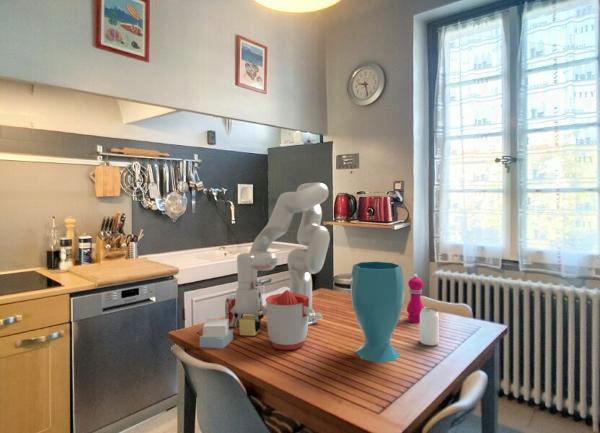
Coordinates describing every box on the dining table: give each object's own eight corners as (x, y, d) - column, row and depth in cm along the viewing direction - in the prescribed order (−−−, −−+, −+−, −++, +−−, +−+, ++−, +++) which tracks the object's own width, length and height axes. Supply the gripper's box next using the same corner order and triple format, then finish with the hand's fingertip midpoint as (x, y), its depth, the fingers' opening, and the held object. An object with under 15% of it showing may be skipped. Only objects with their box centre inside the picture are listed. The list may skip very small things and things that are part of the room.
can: (429, 347, 128) (429, 313, 128) (415, 341, 134) (415, 309, 133) (442, 343, 131) (442, 310, 131) (428, 338, 137) (428, 306, 136)
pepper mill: (406, 321, 155) (405, 275, 155) (407, 316, 162) (407, 272, 161) (423, 323, 153) (423, 276, 152) (424, 318, 159) (424, 273, 159)
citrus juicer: (305, 356, 122) (304, 297, 121) (258, 350, 128) (257, 293, 127) (319, 339, 137) (318, 286, 136) (276, 334, 143) (276, 284, 142)
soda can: (238, 328, 151) (238, 299, 150) (222, 327, 152) (222, 298, 152) (244, 322, 158) (244, 295, 157) (229, 321, 159) (228, 294, 158)
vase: (394, 368, 112) (394, 271, 111) (343, 356, 121) (342, 267, 120) (409, 349, 127) (409, 263, 126) (363, 339, 136) (362, 259, 135)
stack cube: (259, 330, 146) (259, 315, 146) (254, 335, 140) (253, 320, 140) (245, 329, 148) (245, 314, 147) (239, 334, 142) (239, 319, 142)
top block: (228, 329, 139) (228, 318, 139) (225, 336, 131) (225, 325, 131) (207, 329, 139) (207, 319, 139) (203, 337, 131) (202, 326, 131)
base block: (233, 340, 138) (232, 330, 138) (222, 349, 130) (222, 338, 130) (211, 338, 141) (211, 328, 140) (199, 347, 132) (199, 336, 132)
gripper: (271, 283, 145) (273, 327, 146) (231, 282, 149) (233, 325, 150) (265, 287, 137) (267, 334, 138) (223, 286, 141) (225, 332, 142)
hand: (249, 329), depth 144 cm, fingers closed on stack cube, 6 cm apart
